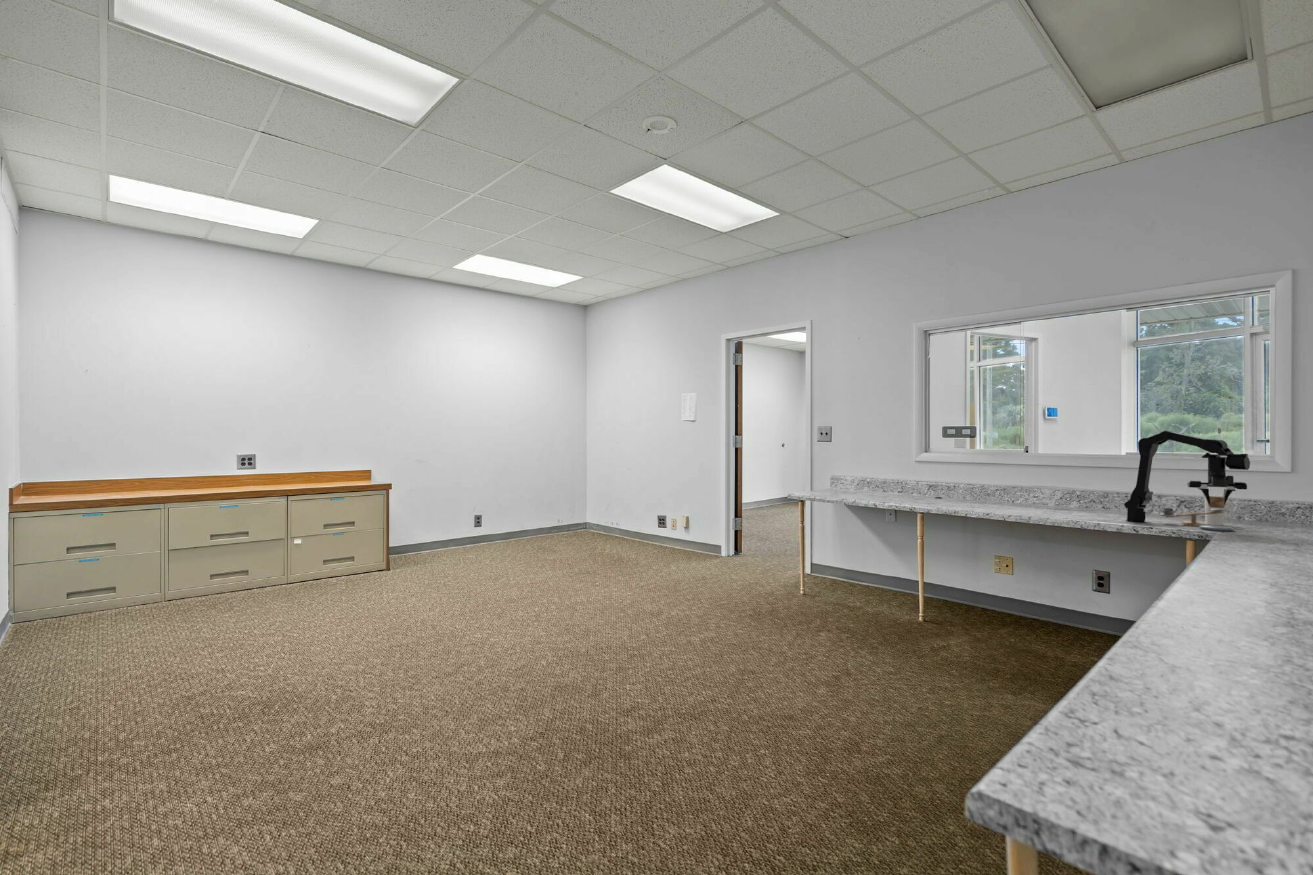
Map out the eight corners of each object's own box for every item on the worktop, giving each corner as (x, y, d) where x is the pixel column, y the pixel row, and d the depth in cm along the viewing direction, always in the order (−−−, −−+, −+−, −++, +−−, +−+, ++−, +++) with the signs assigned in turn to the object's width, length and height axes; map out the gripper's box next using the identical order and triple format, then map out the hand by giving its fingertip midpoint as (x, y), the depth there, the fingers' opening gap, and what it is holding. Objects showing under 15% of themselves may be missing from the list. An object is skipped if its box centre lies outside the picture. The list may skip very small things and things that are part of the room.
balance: (1160, 523, 290) (1160, 507, 290) (1159, 522, 295) (1159, 505, 295) (1230, 528, 277) (1230, 510, 277) (1227, 526, 282) (1227, 509, 282)
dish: (1202, 530, 271) (1202, 527, 271) (1197, 527, 280) (1197, 524, 280) (1236, 532, 265) (1236, 529, 265) (1230, 529, 274) (1230, 526, 274)
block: (1210, 507, 272) (1210, 496, 272) (1208, 506, 276) (1208, 496, 276) (1224, 508, 270) (1224, 497, 270) (1222, 507, 273) (1222, 496, 273)
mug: (1205, 524, 288) (1205, 498, 288) (1203, 523, 293) (1203, 497, 293) (1235, 526, 282) (1235, 499, 282) (1232, 524, 287) (1233, 498, 287)
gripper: (1191, 469, 271) (1191, 505, 271) (1250, 470, 261) (1250, 508, 261) (1187, 467, 280) (1187, 502, 280) (1243, 469, 270) (1243, 505, 270)
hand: (1216, 504), depth 273 cm, fingers closed on block, 4 cm apart
